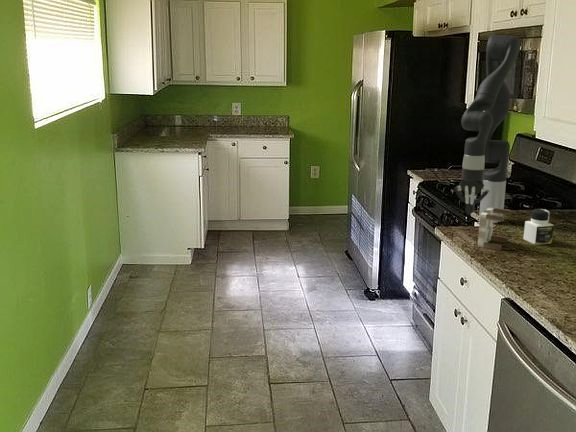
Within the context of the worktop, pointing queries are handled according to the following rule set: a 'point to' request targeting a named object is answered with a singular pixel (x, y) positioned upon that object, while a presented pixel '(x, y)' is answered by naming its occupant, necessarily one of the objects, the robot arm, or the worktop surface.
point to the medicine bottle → (538, 228)
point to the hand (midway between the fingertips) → (469, 213)
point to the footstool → (491, 228)
